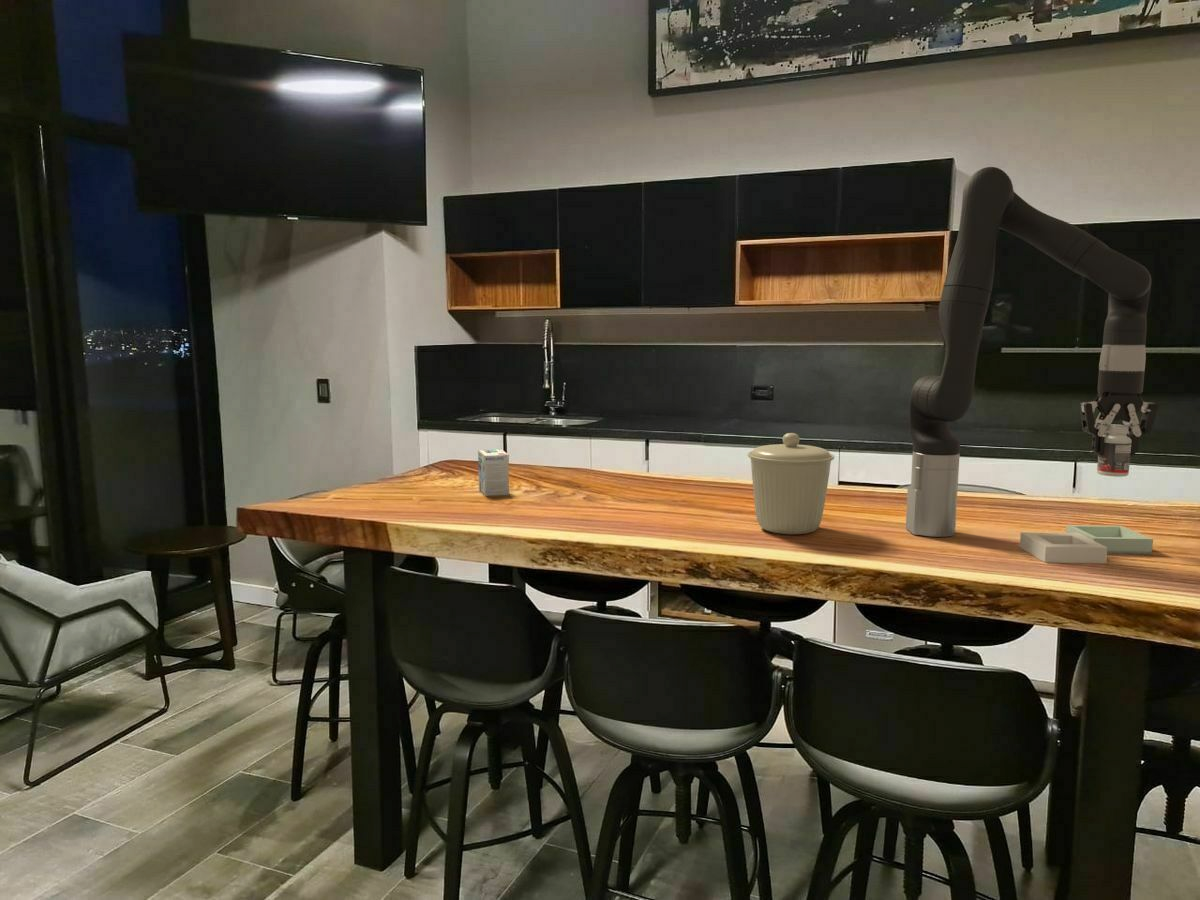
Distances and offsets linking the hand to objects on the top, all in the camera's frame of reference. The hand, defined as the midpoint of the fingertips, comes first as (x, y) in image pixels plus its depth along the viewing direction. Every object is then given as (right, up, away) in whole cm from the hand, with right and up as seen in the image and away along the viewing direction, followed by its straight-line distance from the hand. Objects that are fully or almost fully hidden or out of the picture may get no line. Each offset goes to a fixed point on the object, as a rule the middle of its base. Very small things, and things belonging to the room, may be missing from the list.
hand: (1114, 454), depth 166 cm
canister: (-60, -16, +18) cm, 65 cm away
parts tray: (0, -18, +3) cm, 18 cm away
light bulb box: (-129, -10, +61) cm, 143 cm away
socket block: (-12, -19, -4) cm, 23 cm away
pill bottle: (0, -4, +1) cm, 4 cm away
